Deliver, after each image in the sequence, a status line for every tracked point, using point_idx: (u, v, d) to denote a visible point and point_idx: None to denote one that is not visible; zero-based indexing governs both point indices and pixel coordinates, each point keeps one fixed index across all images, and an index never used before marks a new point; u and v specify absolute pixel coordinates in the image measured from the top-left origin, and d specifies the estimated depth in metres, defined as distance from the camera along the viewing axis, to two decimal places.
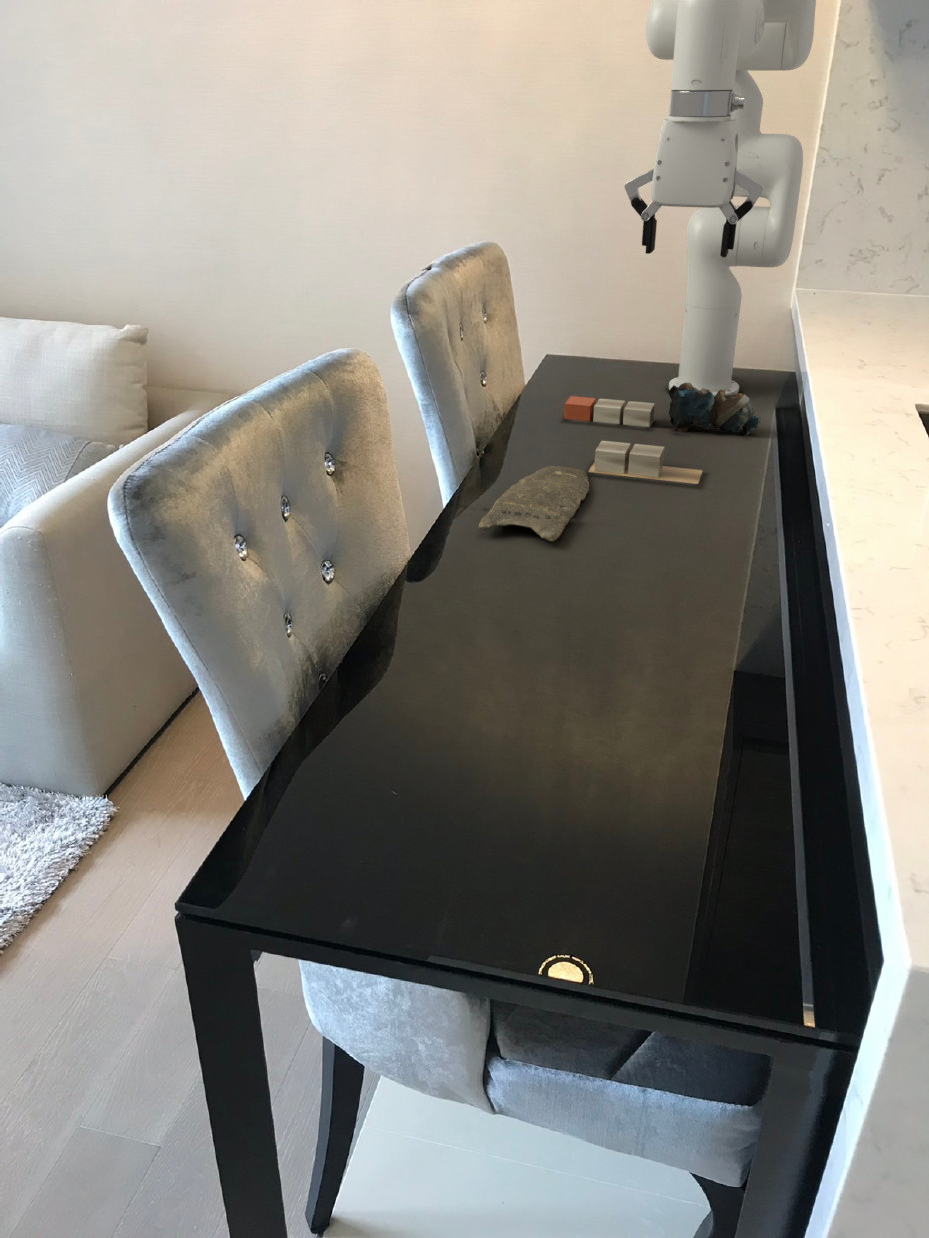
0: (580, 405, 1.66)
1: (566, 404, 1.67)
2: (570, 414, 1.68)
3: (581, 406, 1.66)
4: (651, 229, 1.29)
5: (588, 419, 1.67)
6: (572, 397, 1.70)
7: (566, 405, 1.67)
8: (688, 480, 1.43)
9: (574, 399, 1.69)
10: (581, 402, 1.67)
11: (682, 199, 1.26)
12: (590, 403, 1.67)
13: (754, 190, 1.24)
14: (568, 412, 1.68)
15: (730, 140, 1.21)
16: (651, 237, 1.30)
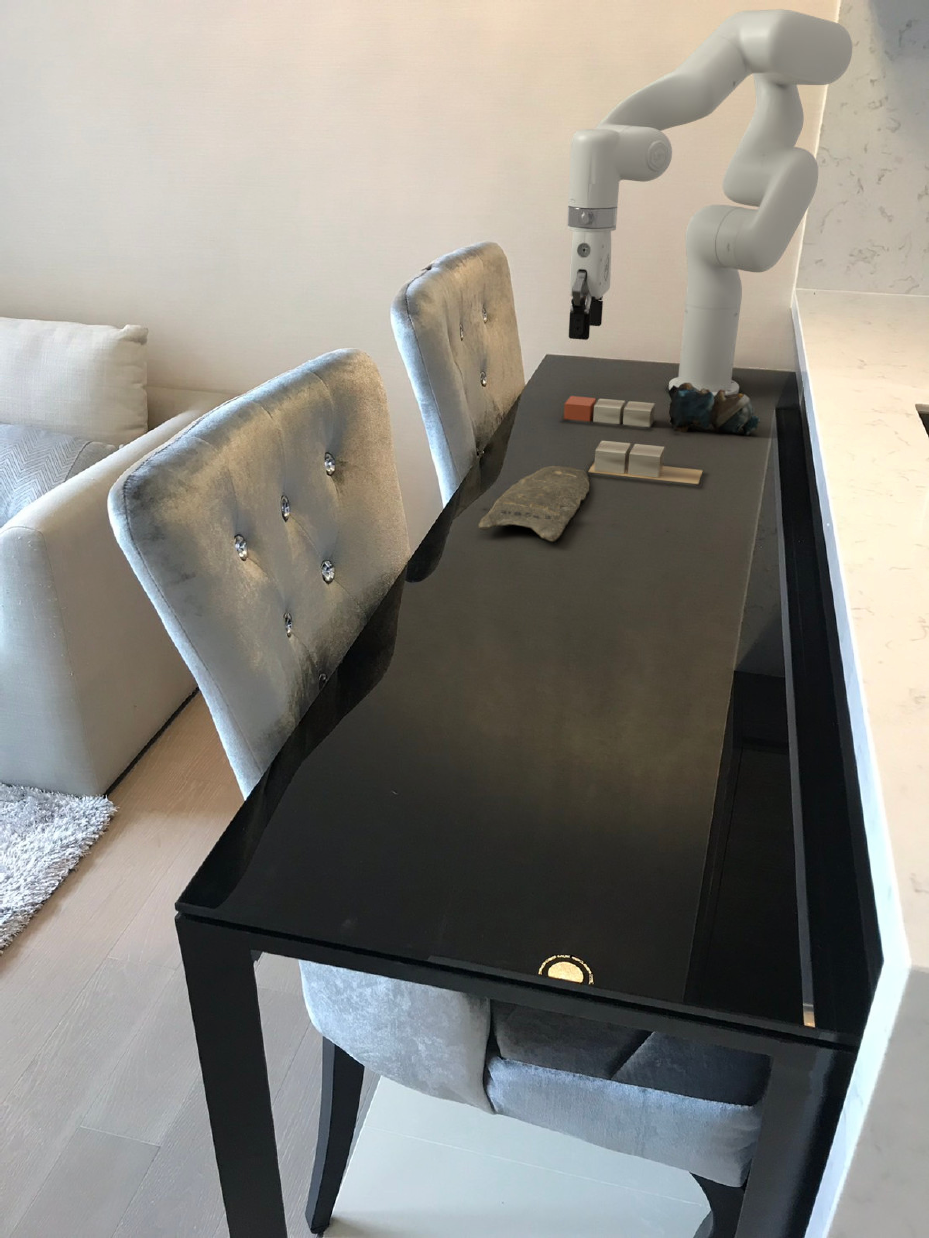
0: (580, 405, 1.66)
1: (566, 404, 1.67)
2: (570, 414, 1.68)
3: (581, 406, 1.66)
4: None
5: (588, 419, 1.67)
6: (572, 397, 1.70)
7: (566, 405, 1.67)
8: (688, 480, 1.43)
9: (574, 399, 1.69)
10: (581, 402, 1.67)
11: None
12: (590, 403, 1.67)
13: None
14: (568, 412, 1.68)
15: (572, 246, 1.52)
16: None
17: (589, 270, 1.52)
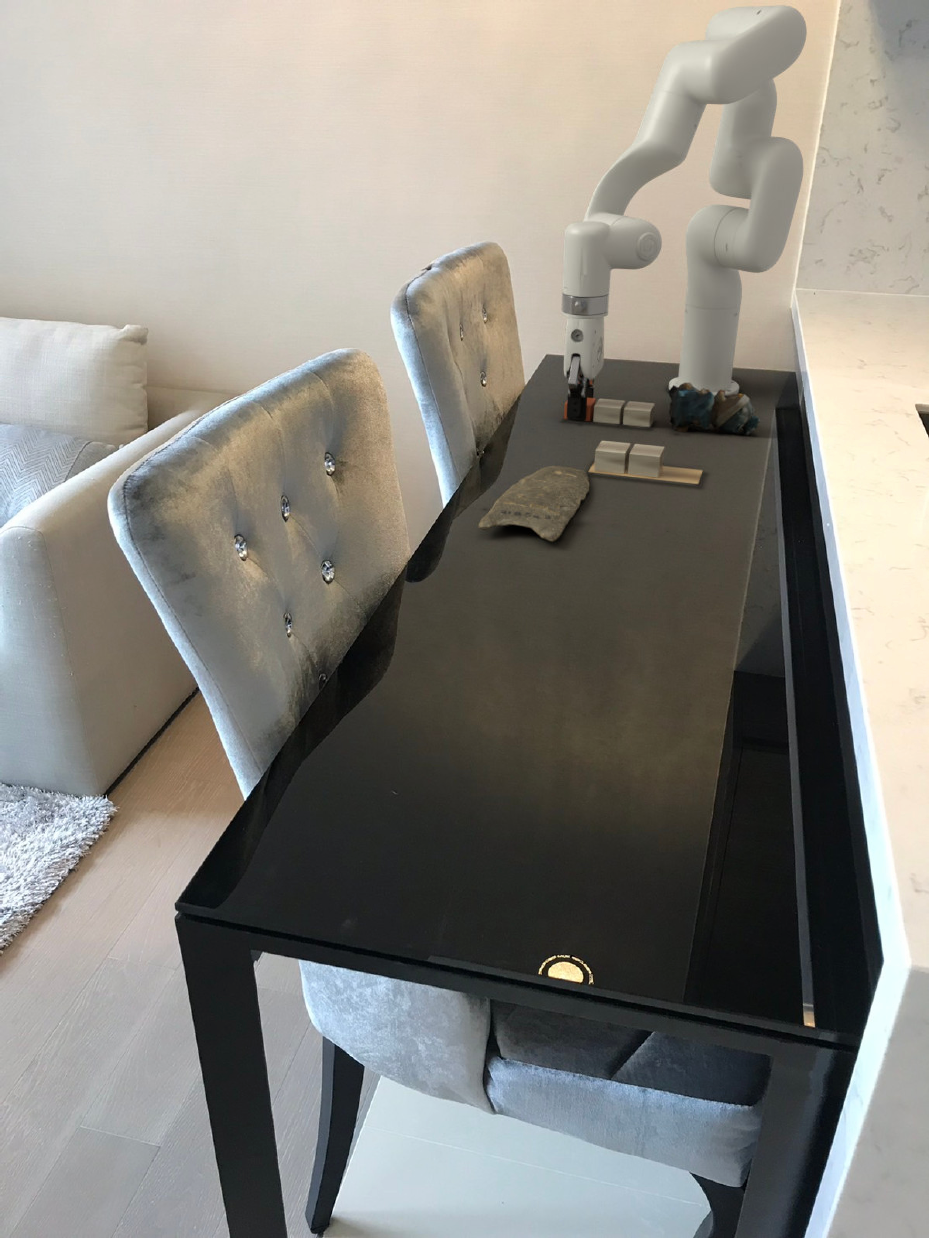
0: None
1: (566, 404, 1.67)
2: None
3: None
4: None
5: (588, 419, 1.67)
6: None
7: (566, 405, 1.67)
8: (688, 480, 1.43)
9: None
10: None
11: None
12: (590, 403, 1.67)
13: None
14: None
15: (566, 331, 1.59)
16: None
17: (582, 354, 1.59)
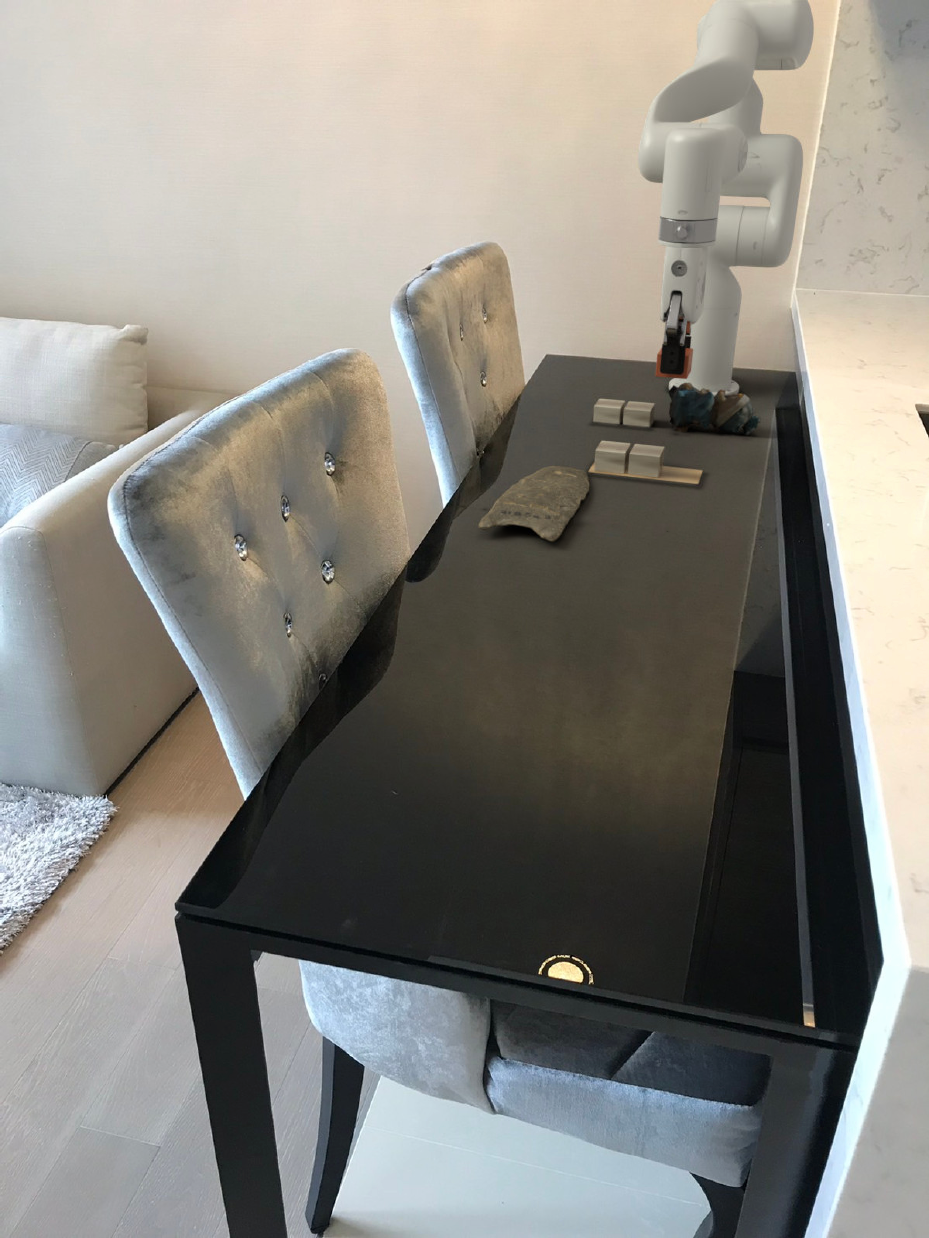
0: None
1: (659, 355, 1.39)
2: None
3: None
4: None
5: (685, 373, 1.39)
6: None
7: (659, 356, 1.39)
8: (688, 480, 1.43)
9: None
10: None
11: None
12: (688, 354, 1.39)
13: None
14: None
15: (665, 264, 1.31)
16: None
17: (685, 291, 1.31)
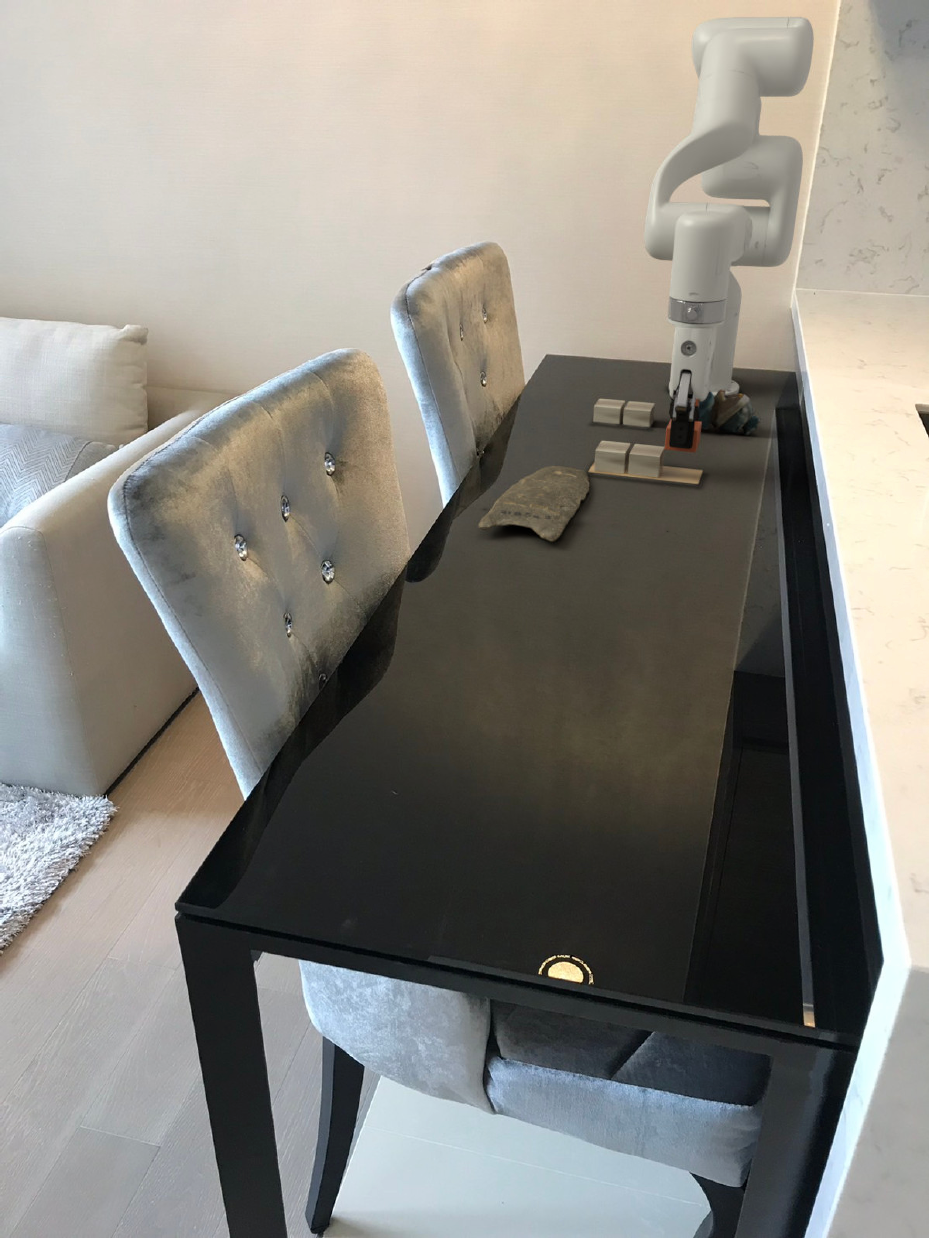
0: None
1: (668, 429, 1.40)
2: None
3: None
4: None
5: (694, 447, 1.41)
6: None
7: (668, 430, 1.41)
8: (688, 480, 1.43)
9: None
10: None
11: None
12: (697, 428, 1.40)
13: None
14: None
15: (675, 343, 1.33)
16: None
17: (694, 370, 1.33)
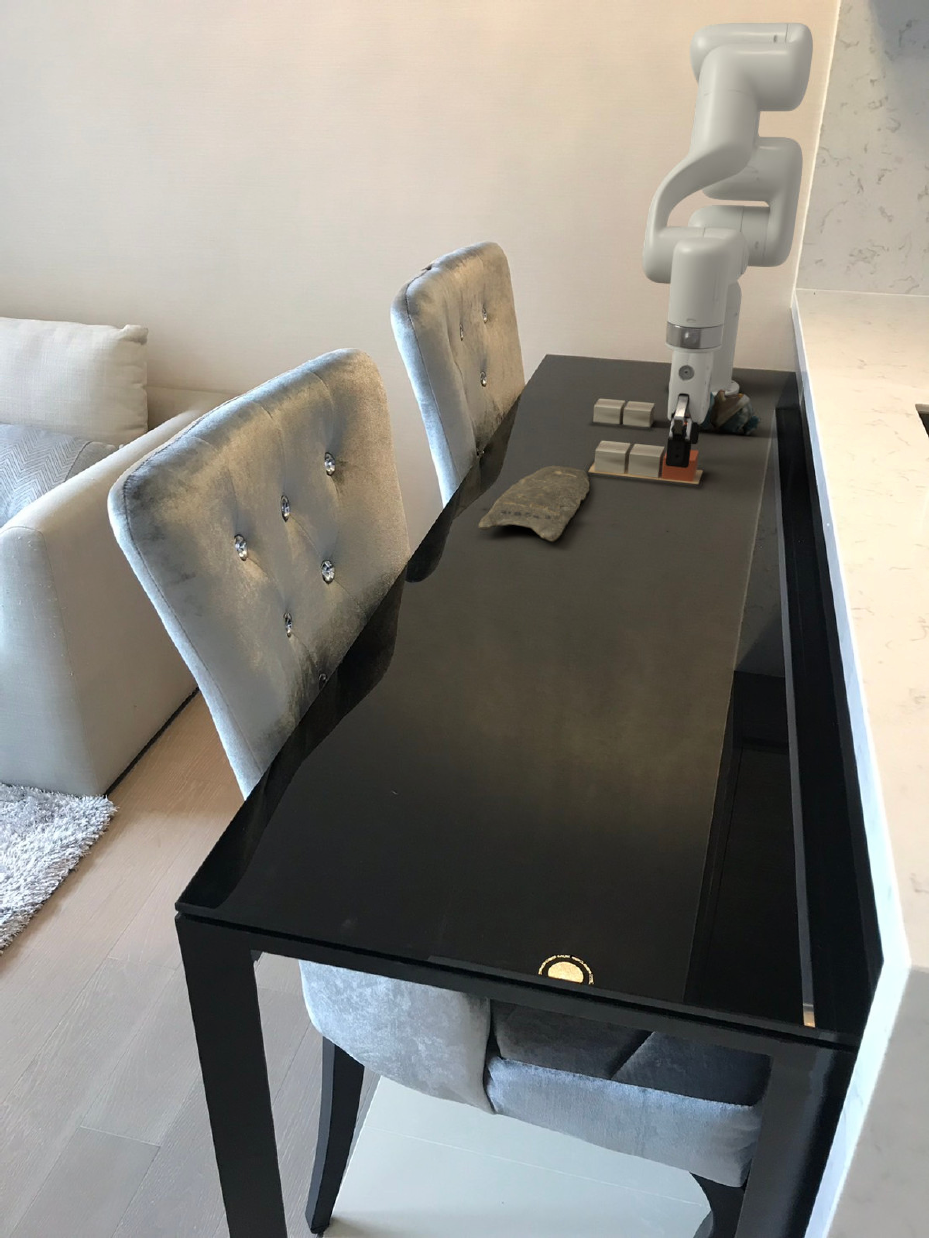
0: None
1: None
2: (669, 470, 1.43)
3: None
4: None
5: (691, 476, 1.43)
6: None
7: (665, 459, 1.43)
8: None
9: None
10: None
11: None
12: (694, 457, 1.43)
13: None
14: (667, 468, 1.43)
15: (672, 367, 1.35)
16: None
17: (692, 394, 1.35)
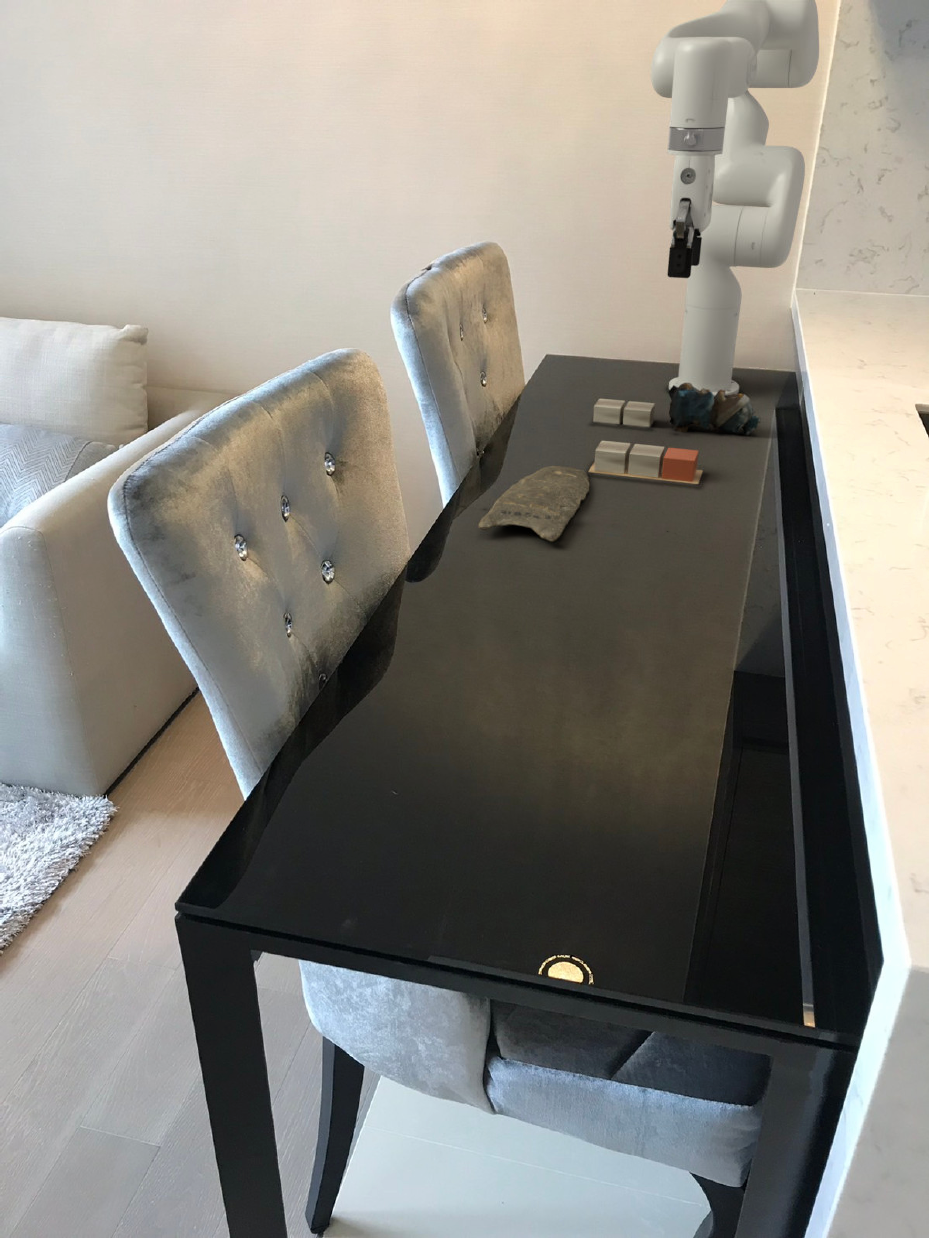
0: (682, 460, 1.42)
1: (666, 458, 1.43)
2: (669, 470, 1.43)
3: (683, 461, 1.42)
4: None
5: (691, 476, 1.43)
6: (670, 449, 1.46)
7: (665, 459, 1.43)
8: None
9: (673, 452, 1.45)
10: (683, 456, 1.43)
11: None
12: (694, 457, 1.43)
13: None
14: (667, 468, 1.43)
15: (674, 172, 1.37)
16: None
17: (693, 198, 1.37)
